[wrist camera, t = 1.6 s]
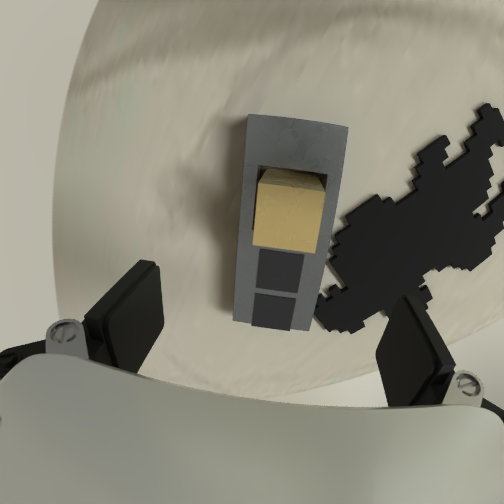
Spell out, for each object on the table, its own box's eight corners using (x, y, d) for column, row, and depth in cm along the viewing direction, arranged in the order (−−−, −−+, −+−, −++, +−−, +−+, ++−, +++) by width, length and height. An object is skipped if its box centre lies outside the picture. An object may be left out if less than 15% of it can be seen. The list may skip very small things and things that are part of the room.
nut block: (267, 168, 25) (258, 182, 19) (317, 175, 25) (325, 192, 18) (262, 215, 27) (252, 244, 21) (309, 222, 27) (314, 253, 20)
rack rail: (252, 115, 23) (247, 113, 21) (343, 127, 22) (348, 127, 20) (236, 308, 32) (232, 322, 29) (308, 318, 31) (308, 333, 29)
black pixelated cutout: (489, 100, 18) (269, 255, 29) (494, 99, 17) (268, 259, 28) (530, 219, 22) (347, 349, 33) (534, 222, 21) (348, 354, 32)
